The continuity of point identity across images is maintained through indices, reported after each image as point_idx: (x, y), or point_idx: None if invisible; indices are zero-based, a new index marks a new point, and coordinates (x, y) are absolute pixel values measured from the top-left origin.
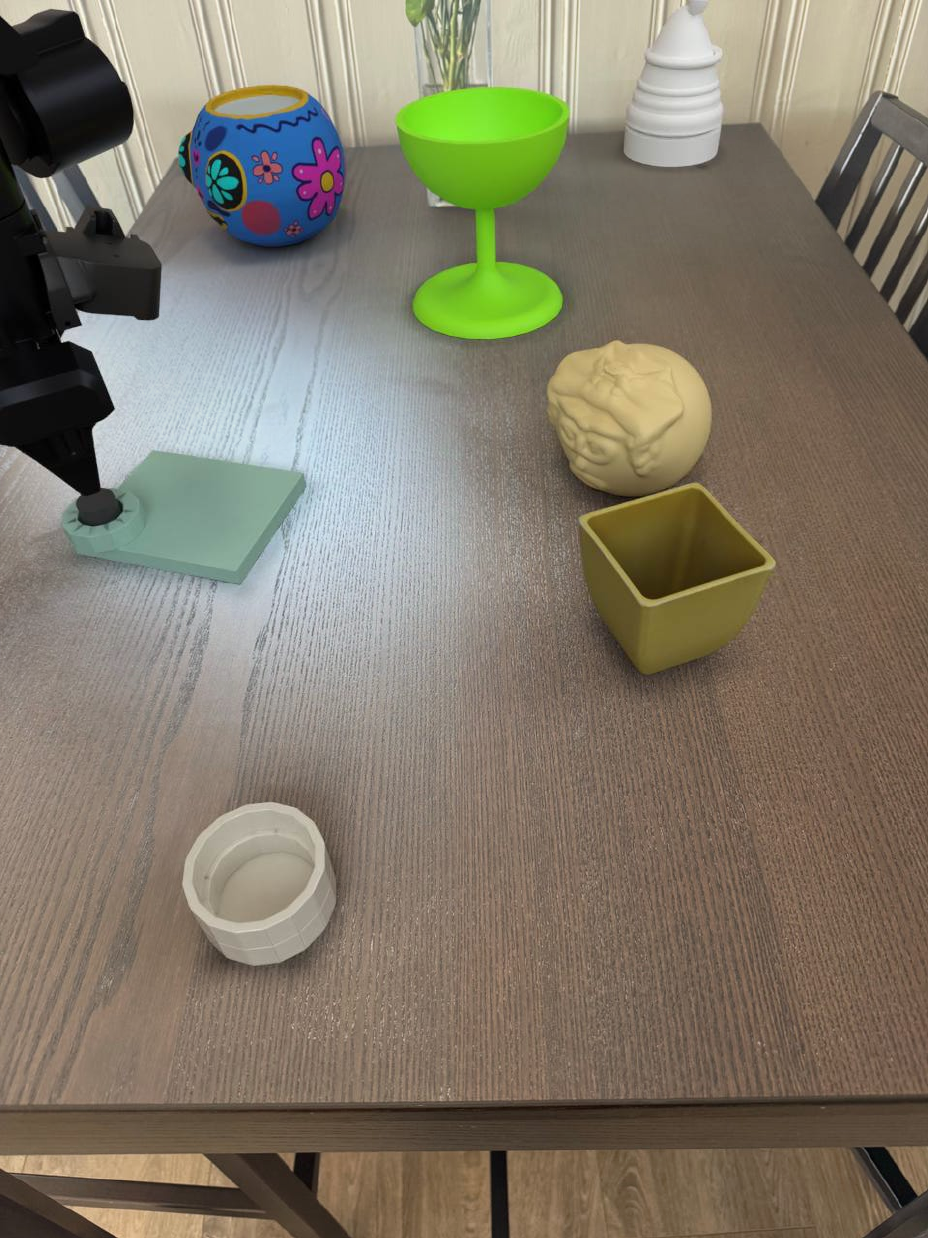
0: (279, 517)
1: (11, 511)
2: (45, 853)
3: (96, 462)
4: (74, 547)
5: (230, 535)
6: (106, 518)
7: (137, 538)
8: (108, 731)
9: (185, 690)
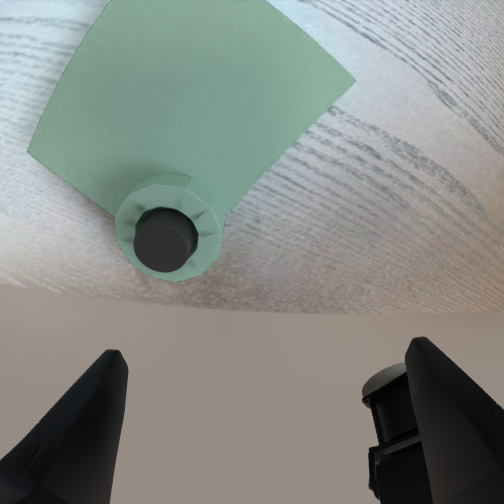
0: None
1: (93, 296)
2: (490, 296)
3: (478, 386)
4: None
5: (272, 62)
6: (190, 233)
7: (212, 189)
8: (448, 254)
9: (455, 188)
